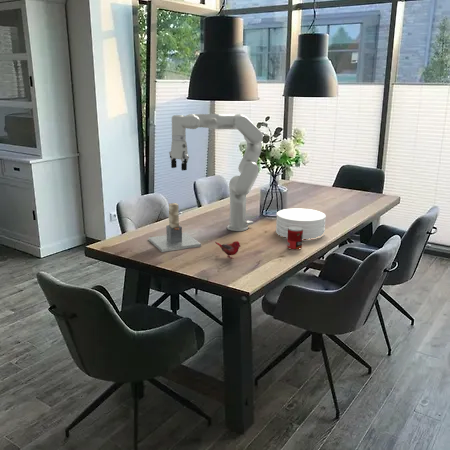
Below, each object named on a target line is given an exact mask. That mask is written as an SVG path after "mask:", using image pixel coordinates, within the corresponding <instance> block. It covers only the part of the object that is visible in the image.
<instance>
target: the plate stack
mask: <svg viewBox="0 0 450 450" xmlns="http://www.w3.org/2000/svg"><path fill="white" fill-rule="evenodd" d="M275 218H276V219H275V220H276V222H275V224H276V225H275V234H276V233H277V234H278V235H277V234H276V235H277V236H279V235H280V236H279V237H281V236H283V237H287V238H288V227H290V226H299V227H302V228H303V238H302V239H309V238H310V239H311V238H316V237H318V236H321V235H322V234H323V233H324V232H325V231H326V218H327V216H326V213H324V212H322V211H319V210H316V209H311V208H301V207H299V208H298V207H293V208H284V209H280V210H278V211H276V217H275ZM283 237H282V238H283ZM287 238H286V239H287Z"/></svg>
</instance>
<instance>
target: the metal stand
mask: <svg viewBox="0 0 450 450" xmlns="http://www.w3.org/2000/svg"><path fill="white" fill-rule="evenodd" d="M165 229H166V234H165V235H157V236H151V237H150V236H149V237H148V242H149V243H151V244H152V245H153V246H155V247H156V248H157V249H158V250H159V252H161V253H165V252H173V251H177V250H179V251H180V250H185V249H191V248H199V247H200V248H201V247H202V242H199V241H198V240H197V239H195V238H194V237H192V235H190V234H188V233H187V232H183V227H182V226H181V225H179V227H176V228H171V227H169V224H168V225H166V228H165Z"/></svg>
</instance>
